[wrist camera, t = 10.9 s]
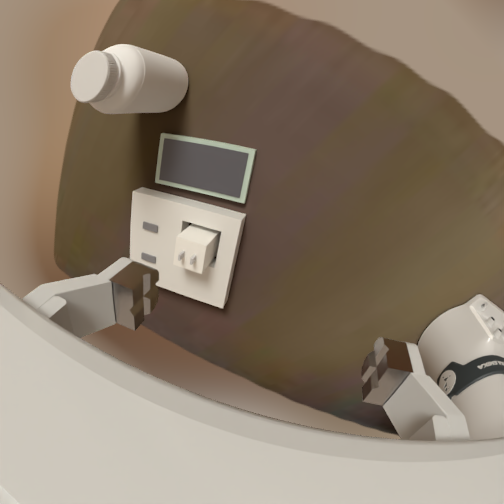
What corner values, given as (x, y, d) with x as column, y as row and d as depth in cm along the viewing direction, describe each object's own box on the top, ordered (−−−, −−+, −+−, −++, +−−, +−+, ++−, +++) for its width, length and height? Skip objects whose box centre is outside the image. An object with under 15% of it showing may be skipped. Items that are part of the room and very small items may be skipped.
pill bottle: (136, 113, 35) (58, 117, 21) (143, 60, 31) (68, 44, 18) (185, 115, 34) (114, 114, 20) (194, 58, 30) (127, 29, 17)
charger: (221, 229, 39) (202, 250, 33) (216, 254, 41) (198, 278, 35) (195, 221, 40) (172, 240, 33) (191, 246, 41) (169, 268, 35)
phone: (257, 149, 34) (255, 150, 33) (246, 200, 38) (243, 203, 36) (166, 132, 36) (160, 133, 34) (159, 180, 39) (154, 182, 37)
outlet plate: (246, 214, 38) (241, 220, 35) (227, 299, 44) (222, 309, 41) (142, 187, 39) (131, 191, 37) (137, 268, 45) (129, 276, 43)
